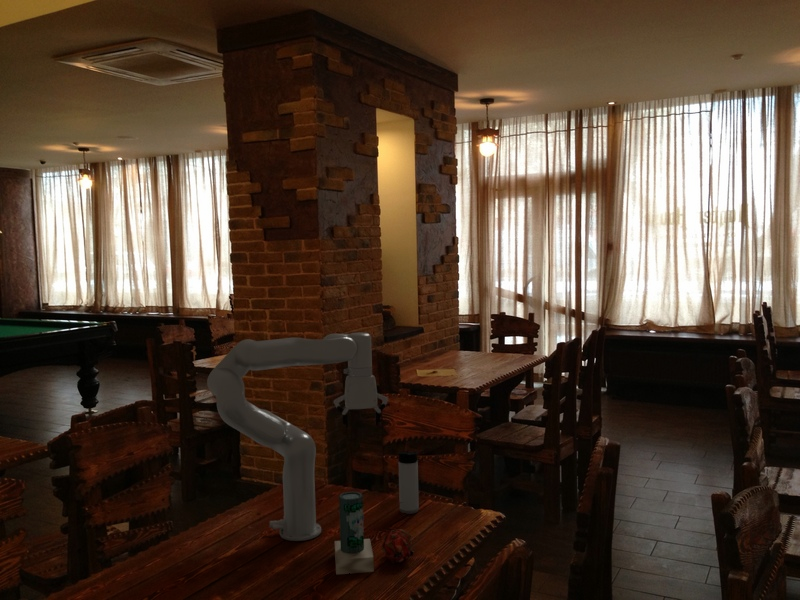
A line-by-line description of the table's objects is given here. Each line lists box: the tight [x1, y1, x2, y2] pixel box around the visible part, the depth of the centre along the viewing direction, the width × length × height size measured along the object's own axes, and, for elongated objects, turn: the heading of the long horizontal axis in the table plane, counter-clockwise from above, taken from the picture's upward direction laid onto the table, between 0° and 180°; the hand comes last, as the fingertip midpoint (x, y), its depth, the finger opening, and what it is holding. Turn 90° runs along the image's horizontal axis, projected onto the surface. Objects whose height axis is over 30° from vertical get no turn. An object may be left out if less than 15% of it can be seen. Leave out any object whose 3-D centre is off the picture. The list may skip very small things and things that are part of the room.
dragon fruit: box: [381, 528, 415, 565], centre depth 193 cm, size 8×8×12 cm
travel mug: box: [398, 450, 420, 515], centre depth 228 cm, size 6×7×20 cm
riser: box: [334, 538, 375, 576], centre depth 192 cm, size 10×12×4 cm
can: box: [338, 491, 365, 554], centre depth 191 cm, size 6×6×15 cm
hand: (361, 425), depth 221 cm, fingers open, 9 cm apart
